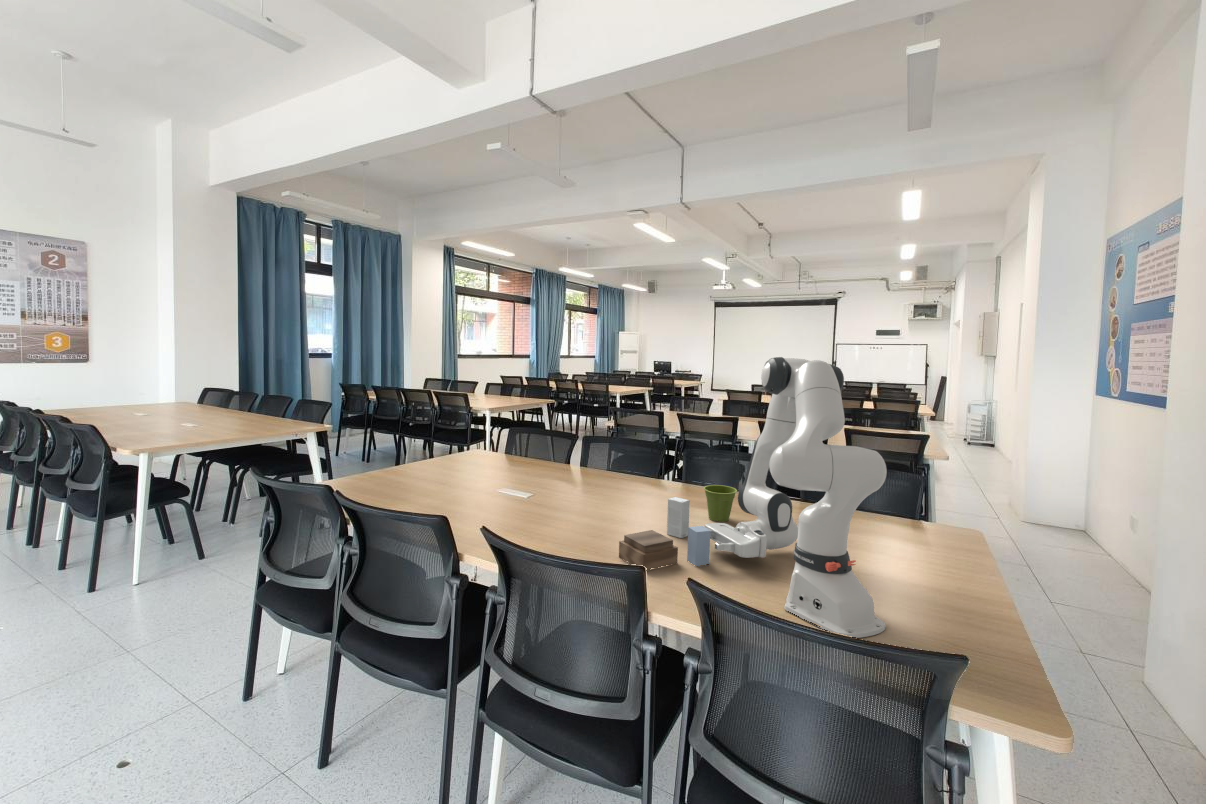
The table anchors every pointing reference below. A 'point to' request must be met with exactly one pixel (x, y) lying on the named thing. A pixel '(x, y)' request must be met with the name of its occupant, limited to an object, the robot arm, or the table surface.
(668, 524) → the skincare box
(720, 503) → the plant pot
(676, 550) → the walnut block
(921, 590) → the table surface
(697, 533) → the slate block
